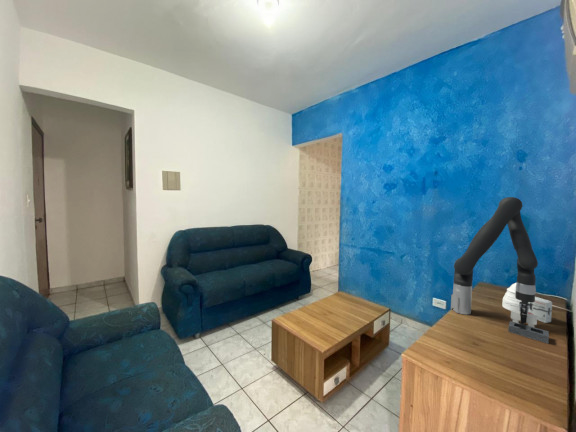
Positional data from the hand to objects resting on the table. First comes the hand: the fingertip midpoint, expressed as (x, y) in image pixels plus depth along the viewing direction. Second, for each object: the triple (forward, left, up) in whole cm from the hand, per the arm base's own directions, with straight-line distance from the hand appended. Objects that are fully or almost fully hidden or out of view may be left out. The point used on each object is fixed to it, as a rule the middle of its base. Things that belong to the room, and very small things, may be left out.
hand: (523, 321), depth 127 cm
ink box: (+16, +8, -2) cm, 18 cm away
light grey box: (0, 0, -2) cm, 2 cm away
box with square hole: (-6, -9, -2) cm, 11 cm away
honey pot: (+15, +21, -2) cm, 26 cm away
